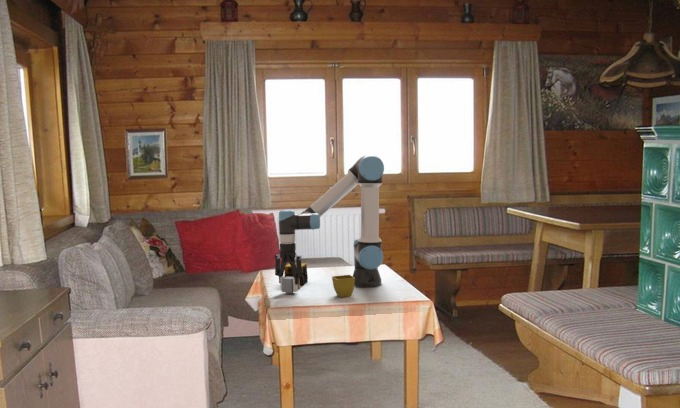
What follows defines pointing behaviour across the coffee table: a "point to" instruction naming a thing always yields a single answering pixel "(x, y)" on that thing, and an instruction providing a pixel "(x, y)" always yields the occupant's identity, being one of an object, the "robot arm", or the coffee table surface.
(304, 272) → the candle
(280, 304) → the coffee table surface
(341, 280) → the flower pot
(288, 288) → the grey matte cube
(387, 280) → the coffee table surface
